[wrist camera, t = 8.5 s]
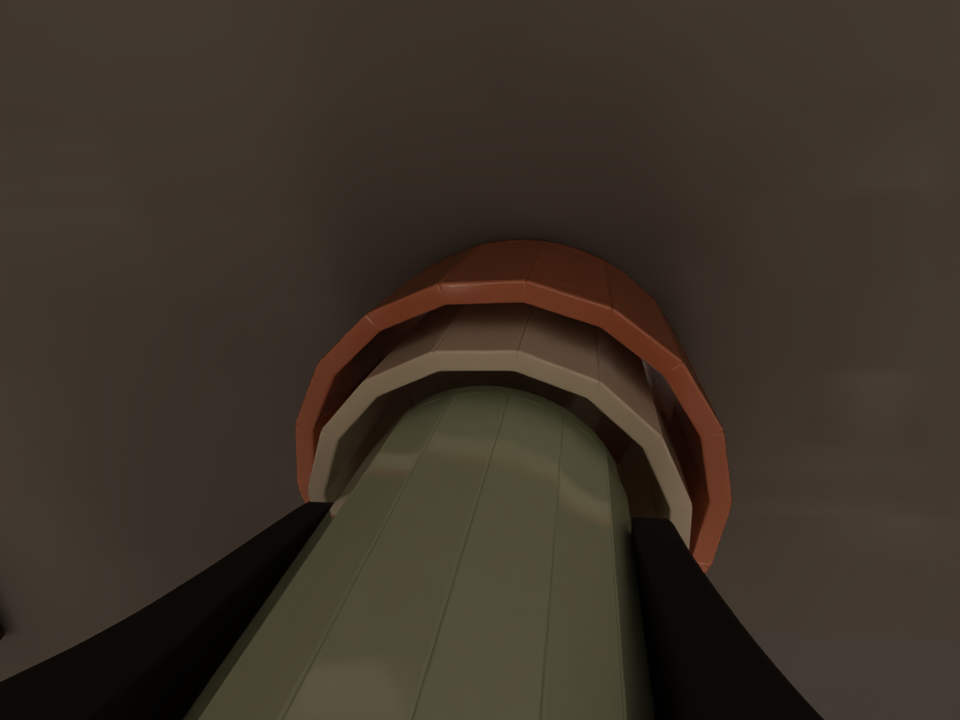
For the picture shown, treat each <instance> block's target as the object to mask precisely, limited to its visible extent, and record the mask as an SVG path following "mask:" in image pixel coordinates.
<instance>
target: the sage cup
mask: <svg viewBox="0 0 960 720" xmlns="http://www.w3.org/2000/svg"><path fill="white" fill-rule="evenodd" d="M182 720H656V719H655V711H654V703H653V695H652V687H651V679H650V671H649V663H648V655H647V647H646V639H645V631H644V624H643V616H642V608H641V600H640V595H639V587H638V582H637V577H636V569H635V561H634V553H633V545H632V536H631V520H630V512H629V504H628V499H627V494H626V492H625V490H624V486H623V482H622V478H621V475H620V473H619V470H618V467H617V465H616V463H615V461H614V459H613V457H612V456H611V454H610V452H609V450H608V449H607V447H606V446H605V445H604V444H603V442H602V441H601V440H600V438H599V437H598V436H597V435H596V434H595V433H594V432H593V431H592V430H591V429H590V428H589V427H588V426H587V425H586V424H585V423H584V422H583V421H582V420H580V419H579V418H578V417H576V416H575V415H574V414H573V413H571V412H570V411H568V410H566V409H565V408H563V407H561V406H560V405H558V404H556V403H554V402H552V401H550V400H548V399H545V398H543V397H541V396H539V395H536V394H533V393H529V392H526V391H523V390H519V389H513V388H508V387H503V386H487V385H482V386H466V387H461V388H456V389H450V390H447V391H444V392H441V393H438V394H435V395H432V396H430V397H428V398H426V399H424V400H422V401H420V402H418V403H417V404H415V405H414V406H412V407H411V408H409V409H408V410H407V411H405V412H404V413H403V414H402V415H401V416H400V417H399V418H398V419H397V420H396V421H395V422H394V423H393V424H392V426H391V427H390V428H389V429H388V431H387V432H386V433H385V435H384V436H383V437H382V438H381V439H380V440H379V441H378V442H377V443H376V444H375V446H374V447H373V449H372V450H371V451H370V453H369V454H368V456H367V457H366V459H365V460H364V461H363V463H362V464H361V466H360V467H359V468H358V470H357V471H356V473H355V474H354V476H353V477H352V478H351V480H350V481H349V483H348V484H347V486H346V487H345V488H344V490H343V491H342V493H341V494H340V496H339V497H338V498H337V500H336V501H335V503H334V504H333V506H332V507H331V508H330V510H329V511H328V513H327V514H326V516H325V517H324V518H323V520H322V521H321V523H320V524H319V526H318V527H317V528H316V530H315V531H314V533H313V534H312V536H311V537H310V538H309V540H308V541H307V543H306V544H305V545H304V547H303V548H302V550H301V551H300V553H299V554H298V555H297V557H296V558H295V560H294V561H293V563H292V564H291V565H290V567H289V568H288V570H287V571H286V573H285V574H284V575H283V577H282V578H281V580H280V581H279V583H278V584H277V585H276V587H275V588H274V590H273V591H272V593H271V594H270V595H269V597H268V598H267V600H266V601H265V603H264V604H263V605H262V607H261V608H260V610H259V611H258V613H257V614H256V615H255V617H254V618H253V620H252V621H251V623H250V624H249V625H248V627H247V628H246V630H245V631H244V632H243V634H242V635H241V637H240V638H239V640H238V641H237V642H236V644H235V645H234V647H233V648H232V650H231V651H230V652H229V654H228V655H227V657H226V658H225V660H224V661H223V662H222V664H221V665H220V667H219V668H218V670H217V671H216V672H215V674H214V675H213V677H212V678H211V680H210V681H209V682H208V684H207V685H206V687H205V688H204V690H203V691H202V692H201V694H200V695H199V697H198V698H197V700H196V701H195V702H194V704H193V705H192V707H191V708H190V709H189V711H188V712H187V714H186V715H185V717H184V718H183V719H182Z"/></svg>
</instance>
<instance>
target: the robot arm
mask: <svg viewBox="0 0 960 720" xmlns="http://www.w3.org/2000/svg"><path fill="white" fill-rule="evenodd" d="M333 504H334V503H331V502H310V501H309V502H307V503H305V504H304V505H302V506H300V507H299V508H297V509H295V510H294V511H292V512H291V513H289V514H288V515H286V516H285V517H283V518H282V519H280V520H279V521H277V522H276V523H274V524H273V525H271V526H270V527H268V528H267V529H265V530H264V531H262V532H261V533H259V534H258V535H257V536H255V537H254V538H252V539H251V540H249V541H248V542H246V543H245V544H243V545H242V546H240V547H239V548H237V549H236V550H234V551H233V552H231V553H230V554H228V555H227V556H225V557H224V558H222V559H221V560H219V561H218V562H217V563H215V564H214V565H212V566H211V567H209V568H207V569H206V570H204V571H203V572H201V573H200V574H198V575H196V576H195V577H193V578H192V579H190V580H188V581H187V582H185V583H184V584H182V585H180V586H179V587H177V588H176V589H174V590H172V591H171V592H169V593H168V594H166V595H165V596H163V597H161V598H160V599H158V600H157V601H155V602H153V603H152V604H150V605H148V606H147V607H145V608H143V609H142V610H140V611H138V612H136V613H135V614H133V615H131V616H129V617H128V618H126V619H124V620H122V621H121V622H119V623H117V624H115V625H113V626H112V627H110V628H108V629H106V630H104V631H102V632H100V633H99V634H97V635H95V636H93V637H91V638H89V639H87V640H86V641H84V642H82V643H80V644H78V645H76V646H74V647H72V648H70V649H68V650H66V651H64V652H62V653H60V654H58V655H56V656H54V657H52V658H50V659H48V660H45V661H43V662H41V663H39V664H37V665H35V666H33V667H31V668H29V669H27V670H25V671H23V672H20V673H18V674H16V675H14V676H12V677H10V678H8V679H6V680H4V681H2V682H0V720H182V719H183V718H184V717H185V715H186V714H187V712H188V711H189V709H190V708H191V707H192V705H193V704H194V702H195V701H196V700H197V698H198V697H199V695H200V694H201V692H202V691H203V690H204V688H205V687H206V685H207V684H208V682H209V681H210V680H211V678H212V677H213V675H214V674H215V672H216V671H217V670H218V668H219V667H220V665H221V664H222V662H223V661H224V660H225V658H226V657H227V655H228V654H229V652H230V651H231V650H232V648H233V647H234V645H235V644H236V642H237V641H238V640H239V638H240V637H241V635H242V634H243V632H244V631H245V630H246V628H247V627H248V625H249V624H250V623H251V621H252V620H253V618H254V617H255V615H256V614H257V613H258V611H259V610H260V608H261V607H262V605H263V604H264V603H265V601H266V600H267V598H268V597H269V595H270V594H271V593H272V591H273V590H274V588H275V587H276V585H277V584H278V583H279V581H280V580H281V578H282V577H283V575H284V574H285V573H286V571H287V570H288V568H289V567H290V565H291V564H292V563H293V561H294V560H295V558H296V557H297V555H298V554H299V553H300V551H301V550H302V548H303V547H304V545H305V544H306V543H307V541H308V540H309V538H310V537H311V536H312V534H313V533H314V531H315V530H316V528H317V527H318V526H319V524H320V523H321V521H322V520H323V518H324V517H325V516H326V514H327V513H328V511H329V510H330V508H331V507H332V506H333ZM631 536H632V545H633V553H634V561H635V569H636V577H637V582H638V587H639V595H640V600H641V608H642V616H643V624H644V631H645V639H646V647H647V655H648V663H649V671H650V679H651V687H652V695H653V703H654V711H655V719H656V720H824V719H823V718H822V717H821V716H820V715H819V714H818V713H817V712H816V711H815V710H814V709H813V707H812V706H811V705H810V704H809V703H808V702H807V701H806V700H805V699H804V698H803V697H802V695H801V694H800V693H799V692H798V691H797V690H796V689H795V688H794V687H793V685H792V684H791V683H790V682H789V681H788V680H787V679H786V677H785V676H784V675H783V674H782V673H781V672H780V670H779V669H778V668H777V667H776V666H775V665H774V663H773V662H772V661H771V660H770V658H769V657H768V656H767V655H766V654H765V652H764V651H763V650H762V649H761V648H760V646H759V645H758V644H757V643H756V642H755V640H754V639H753V638H752V637H751V635H750V634H749V633H748V632H747V630H746V629H745V628H744V626H743V625H742V624H741V623H740V621H739V620H738V619H737V617H736V616H735V615H734V613H733V612H732V611H731V609H730V608H729V607H728V605H727V604H726V603H725V601H724V600H723V599H722V597H721V596H720V594H719V593H718V592H717V590H716V589H715V588H714V586H713V585H712V583H711V582H710V581H709V579H708V578H707V576H706V575H705V573H704V572H703V570H702V569H701V567H700V566H699V564H698V563H697V561H696V560H695V558H694V557H693V555H692V554H691V552H690V551H689V549H688V547H687V546H686V544H685V542H684V541H683V539H682V537H681V536H680V534H679V532H678V531H677V529H676V527H675V525H674V524H673V523H672V522H671V521H670V520H669V519H668V518H648V517H632V524H631Z"/></svg>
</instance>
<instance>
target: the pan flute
mask: <svg viewBox="0 0 960 720" xmlns="http://www.w3.org/2000/svg"><path fill="white" fill-rule="evenodd" d="M4 635H5V634H4V632H3V630H2V628H1V626H0V640H1V639H2V637H3V636H4Z"/></svg>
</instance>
